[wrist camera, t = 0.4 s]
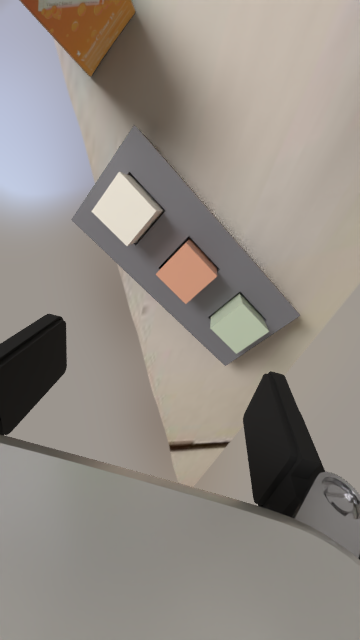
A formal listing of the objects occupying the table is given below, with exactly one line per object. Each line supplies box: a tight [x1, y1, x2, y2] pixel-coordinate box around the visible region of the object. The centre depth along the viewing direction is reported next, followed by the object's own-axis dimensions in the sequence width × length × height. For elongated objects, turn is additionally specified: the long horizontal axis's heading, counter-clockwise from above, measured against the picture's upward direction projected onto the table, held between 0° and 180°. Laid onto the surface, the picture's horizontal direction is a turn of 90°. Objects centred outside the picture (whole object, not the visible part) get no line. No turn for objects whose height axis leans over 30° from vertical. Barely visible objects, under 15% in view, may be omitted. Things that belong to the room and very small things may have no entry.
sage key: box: [210, 292, 269, 354], centre depth 34 cm, size 6×6×5 cm
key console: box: [72, 125, 300, 366], centre depth 34 cm, size 14×32×4 cm, turn 45°
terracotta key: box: [156, 238, 217, 304], centre depth 32 cm, size 6×6×5 cm
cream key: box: [91, 172, 164, 246], centre depth 29 cm, size 6×6×5 cm
